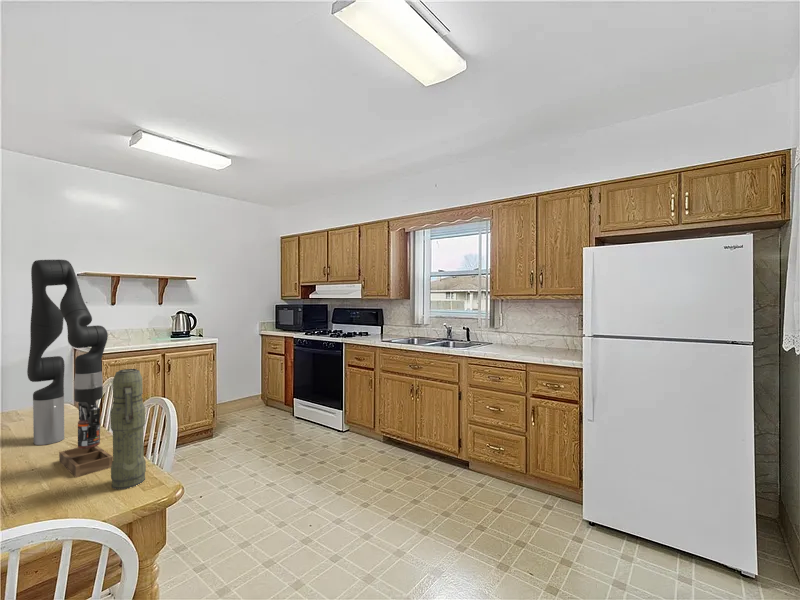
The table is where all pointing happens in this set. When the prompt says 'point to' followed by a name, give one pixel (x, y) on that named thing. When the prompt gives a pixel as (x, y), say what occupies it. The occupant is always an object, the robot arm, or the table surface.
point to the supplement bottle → (86, 435)
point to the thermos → (127, 430)
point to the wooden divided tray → (85, 460)
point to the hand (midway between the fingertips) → (89, 435)
